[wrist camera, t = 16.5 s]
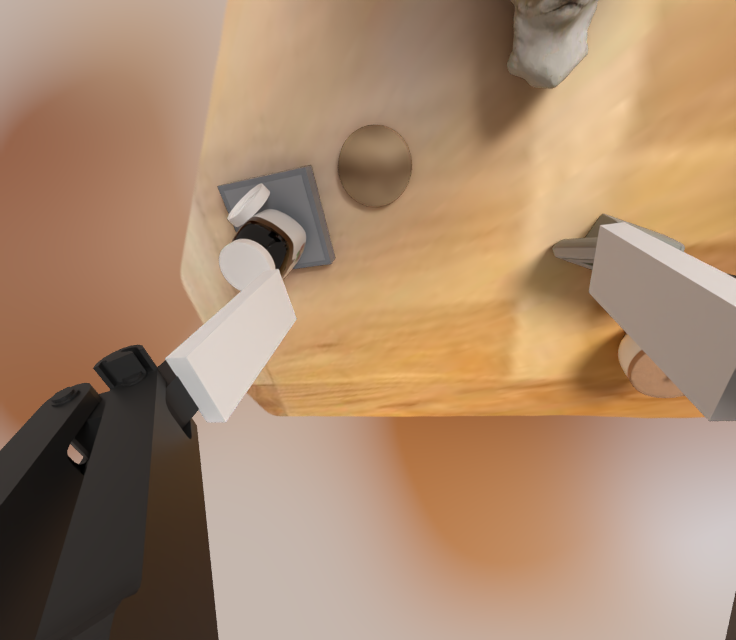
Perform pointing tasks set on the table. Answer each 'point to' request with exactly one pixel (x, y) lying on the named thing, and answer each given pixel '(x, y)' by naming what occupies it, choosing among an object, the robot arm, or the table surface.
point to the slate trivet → (290, 208)
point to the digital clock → (585, 248)
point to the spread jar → (260, 241)
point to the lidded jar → (645, 371)
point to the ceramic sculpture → (549, 39)
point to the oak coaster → (375, 165)
